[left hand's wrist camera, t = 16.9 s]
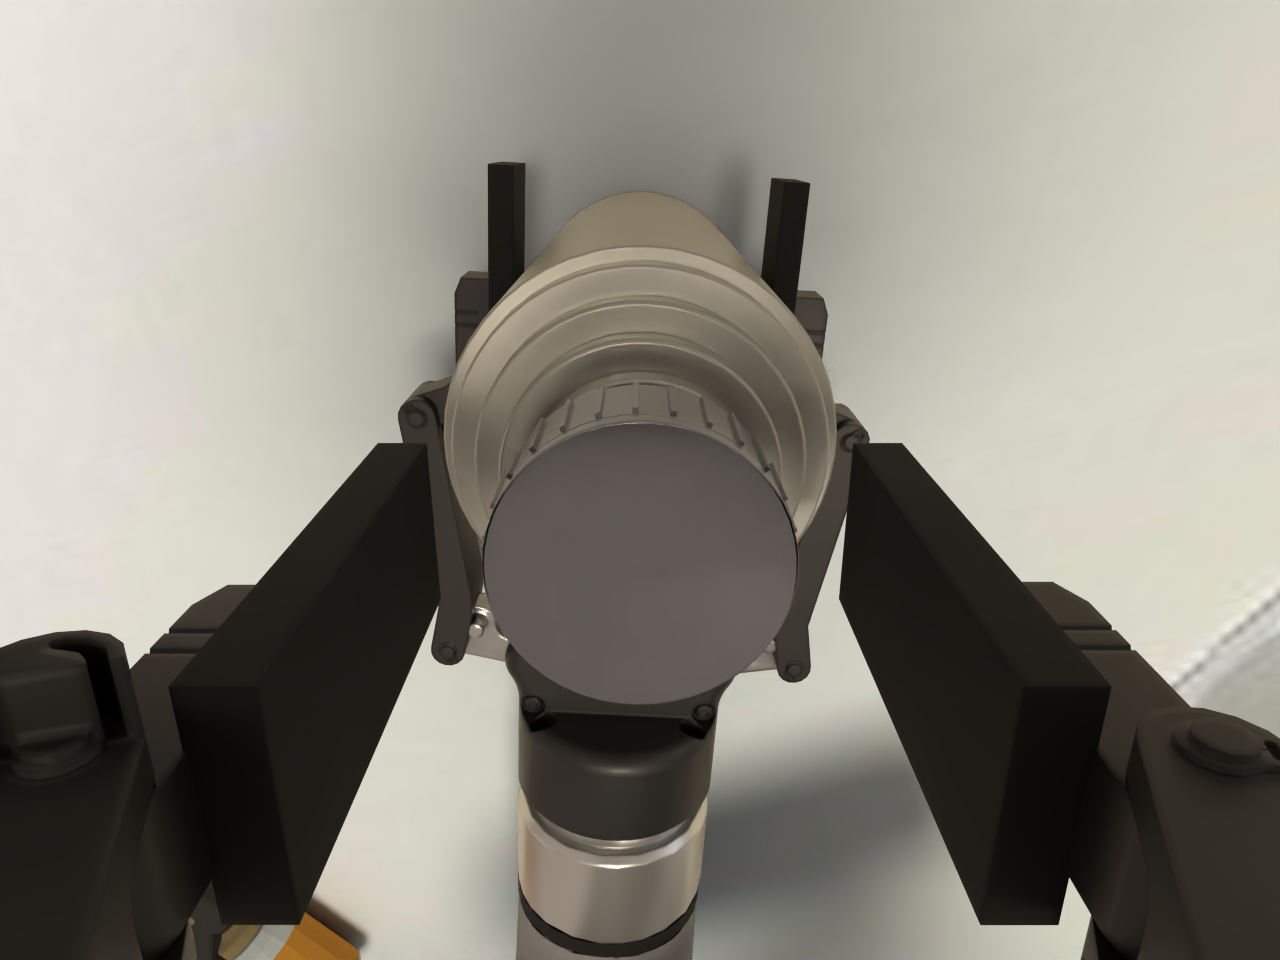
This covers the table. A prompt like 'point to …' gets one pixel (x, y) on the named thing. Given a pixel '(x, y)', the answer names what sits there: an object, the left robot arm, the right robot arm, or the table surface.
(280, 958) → the spray gun
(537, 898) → the right robot arm
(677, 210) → the bottle
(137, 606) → the table surface
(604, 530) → the cap
